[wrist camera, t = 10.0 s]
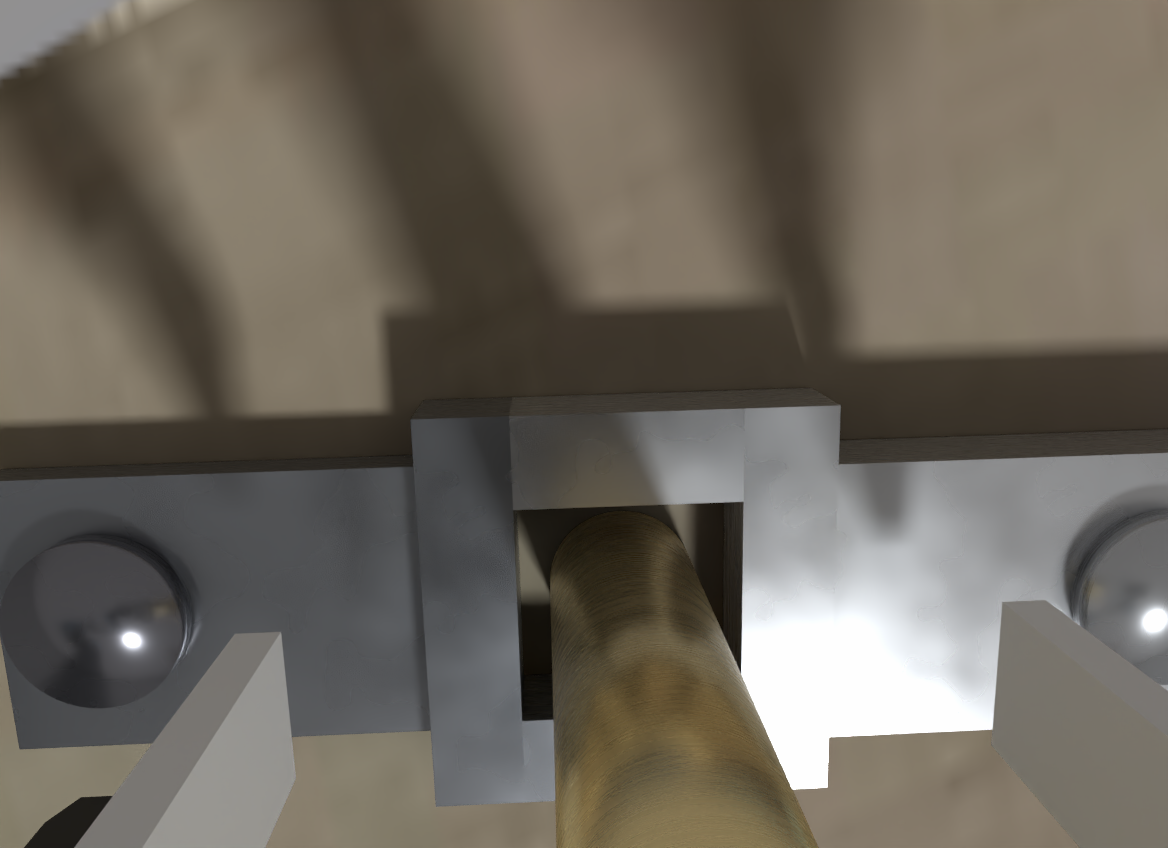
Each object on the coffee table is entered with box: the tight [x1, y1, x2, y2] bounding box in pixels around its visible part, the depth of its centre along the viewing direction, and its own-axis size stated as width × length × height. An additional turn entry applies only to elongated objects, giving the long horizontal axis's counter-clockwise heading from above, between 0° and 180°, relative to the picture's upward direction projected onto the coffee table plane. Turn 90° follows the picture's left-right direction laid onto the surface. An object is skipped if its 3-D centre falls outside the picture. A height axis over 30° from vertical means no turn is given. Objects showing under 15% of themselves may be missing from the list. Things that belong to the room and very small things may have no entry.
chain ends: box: [0, 388, 1168, 807], centre depth 19 cm, size 26×8×3 cm, turn 91°
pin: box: [550, 511, 818, 848], centre depth 14 cm, size 3×3×14 cm
